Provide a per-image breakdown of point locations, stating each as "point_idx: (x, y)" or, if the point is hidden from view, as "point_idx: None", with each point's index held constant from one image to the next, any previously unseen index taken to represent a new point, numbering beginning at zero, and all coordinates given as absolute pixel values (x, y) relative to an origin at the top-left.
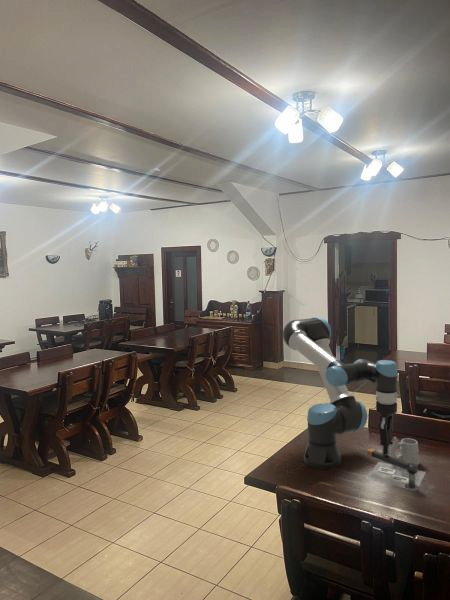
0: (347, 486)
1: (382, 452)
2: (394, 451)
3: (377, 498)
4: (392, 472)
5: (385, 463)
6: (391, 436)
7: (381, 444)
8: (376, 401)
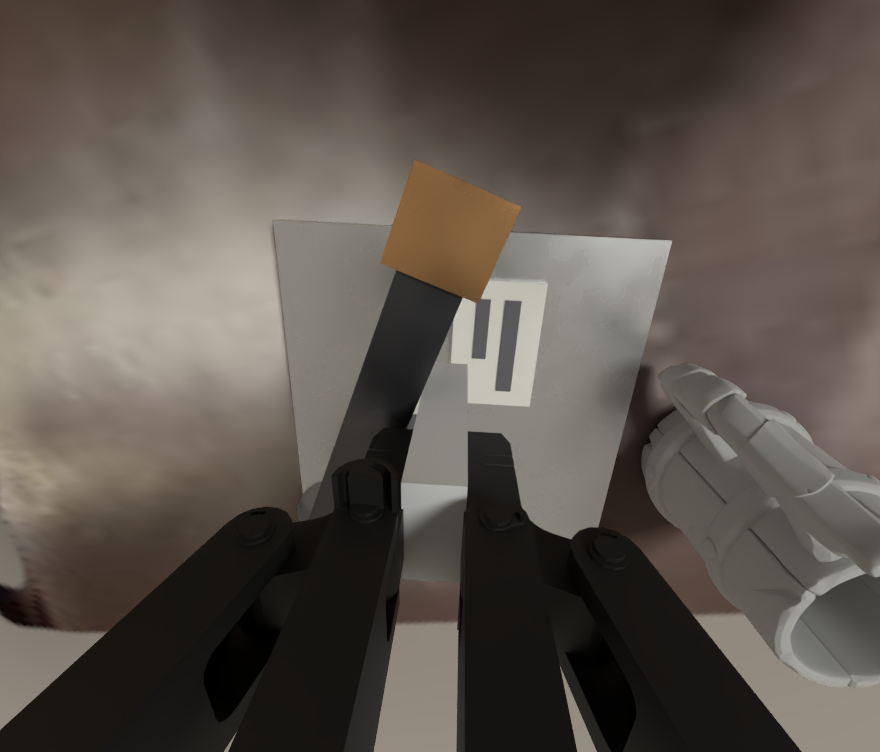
0: (85, 89)
1: (419, 409)
2: (717, 433)
3: (97, 356)
4: (477, 391)
5: (650, 305)
6: (604, 705)
7: (229, 535)
8: None
